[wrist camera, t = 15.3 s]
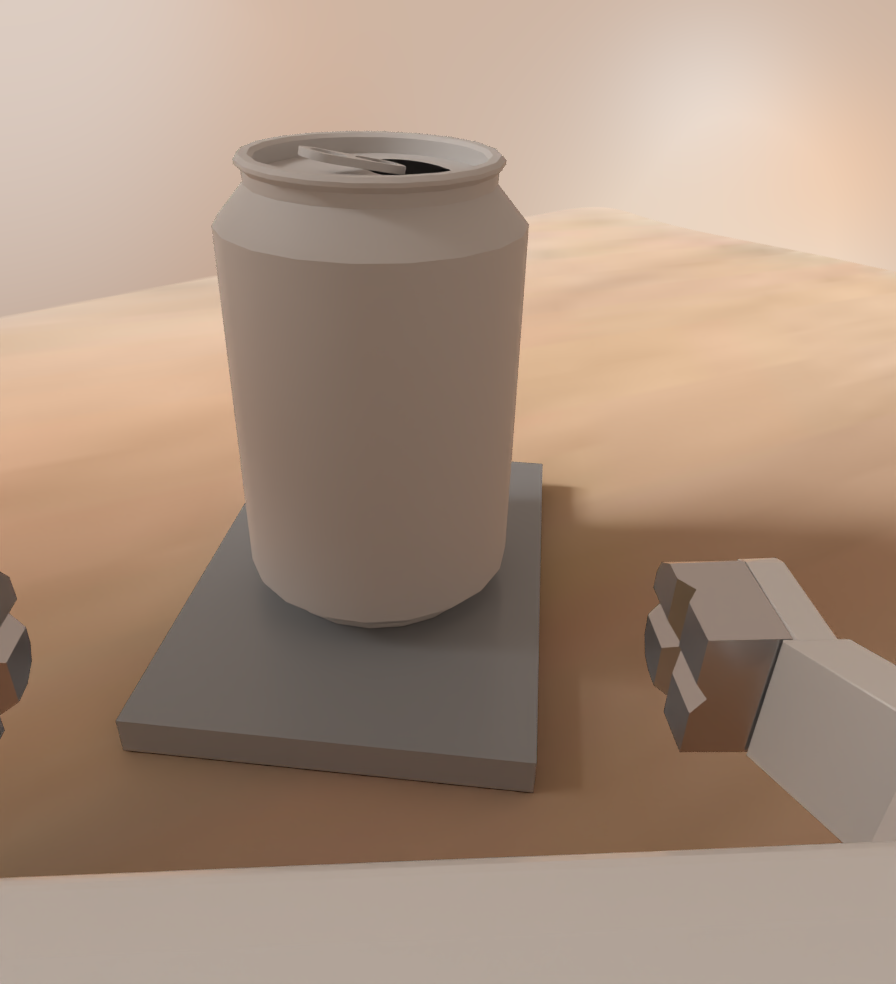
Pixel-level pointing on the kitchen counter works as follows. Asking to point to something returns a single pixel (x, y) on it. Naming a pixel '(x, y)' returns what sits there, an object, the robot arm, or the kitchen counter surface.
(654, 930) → the robot arm
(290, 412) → the can
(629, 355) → the kitchen counter surface
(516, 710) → the slate tile
